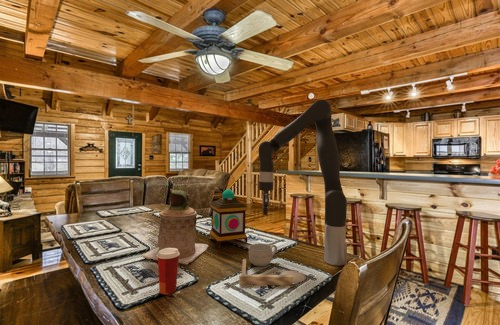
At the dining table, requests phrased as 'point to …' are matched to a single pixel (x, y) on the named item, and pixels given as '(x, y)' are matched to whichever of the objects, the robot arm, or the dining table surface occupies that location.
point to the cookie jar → (178, 229)
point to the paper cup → (168, 270)
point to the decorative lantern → (228, 219)
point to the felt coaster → (295, 276)
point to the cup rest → (264, 278)
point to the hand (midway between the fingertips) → (265, 214)
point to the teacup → (261, 254)
